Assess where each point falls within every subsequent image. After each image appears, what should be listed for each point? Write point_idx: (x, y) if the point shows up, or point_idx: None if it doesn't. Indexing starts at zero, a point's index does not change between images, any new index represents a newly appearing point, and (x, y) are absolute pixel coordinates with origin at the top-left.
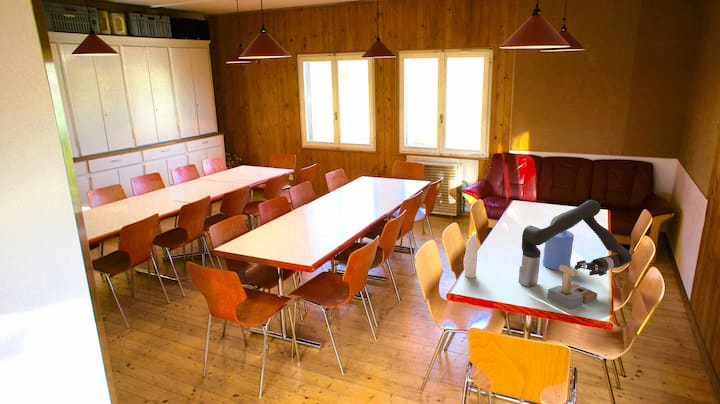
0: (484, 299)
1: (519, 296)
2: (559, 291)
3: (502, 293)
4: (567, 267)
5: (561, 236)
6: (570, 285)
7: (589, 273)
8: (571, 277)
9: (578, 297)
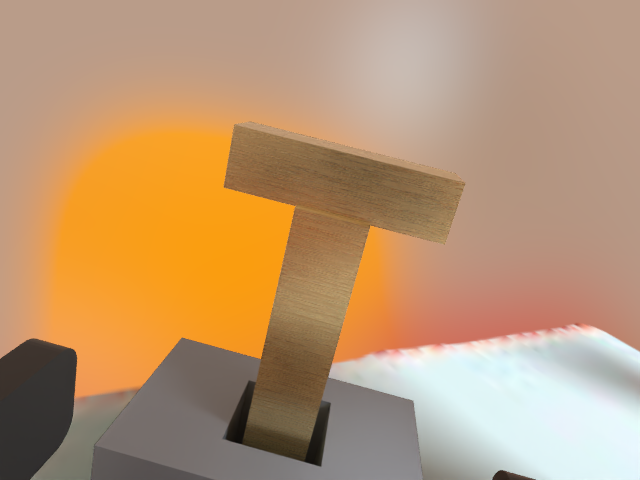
0: (517, 334)
1: (500, 421)
2: (329, 409)
3: (561, 404)
4: (368, 155)
5: None
6: (264, 350)
7: (70, 390)
8: (284, 258)
9: (140, 394)
